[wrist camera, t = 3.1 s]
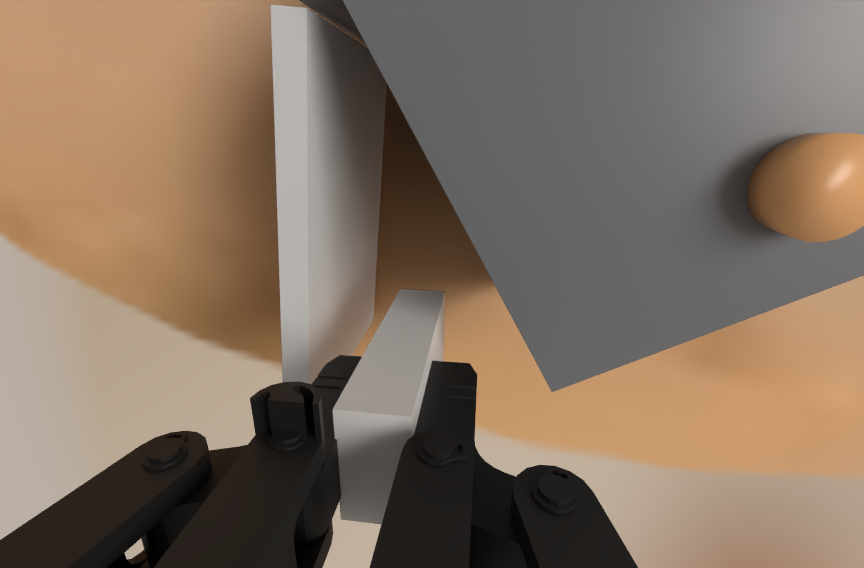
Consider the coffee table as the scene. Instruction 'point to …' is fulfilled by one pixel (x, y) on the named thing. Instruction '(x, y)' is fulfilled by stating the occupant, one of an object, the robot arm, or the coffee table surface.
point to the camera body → (637, 157)
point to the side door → (325, 182)
